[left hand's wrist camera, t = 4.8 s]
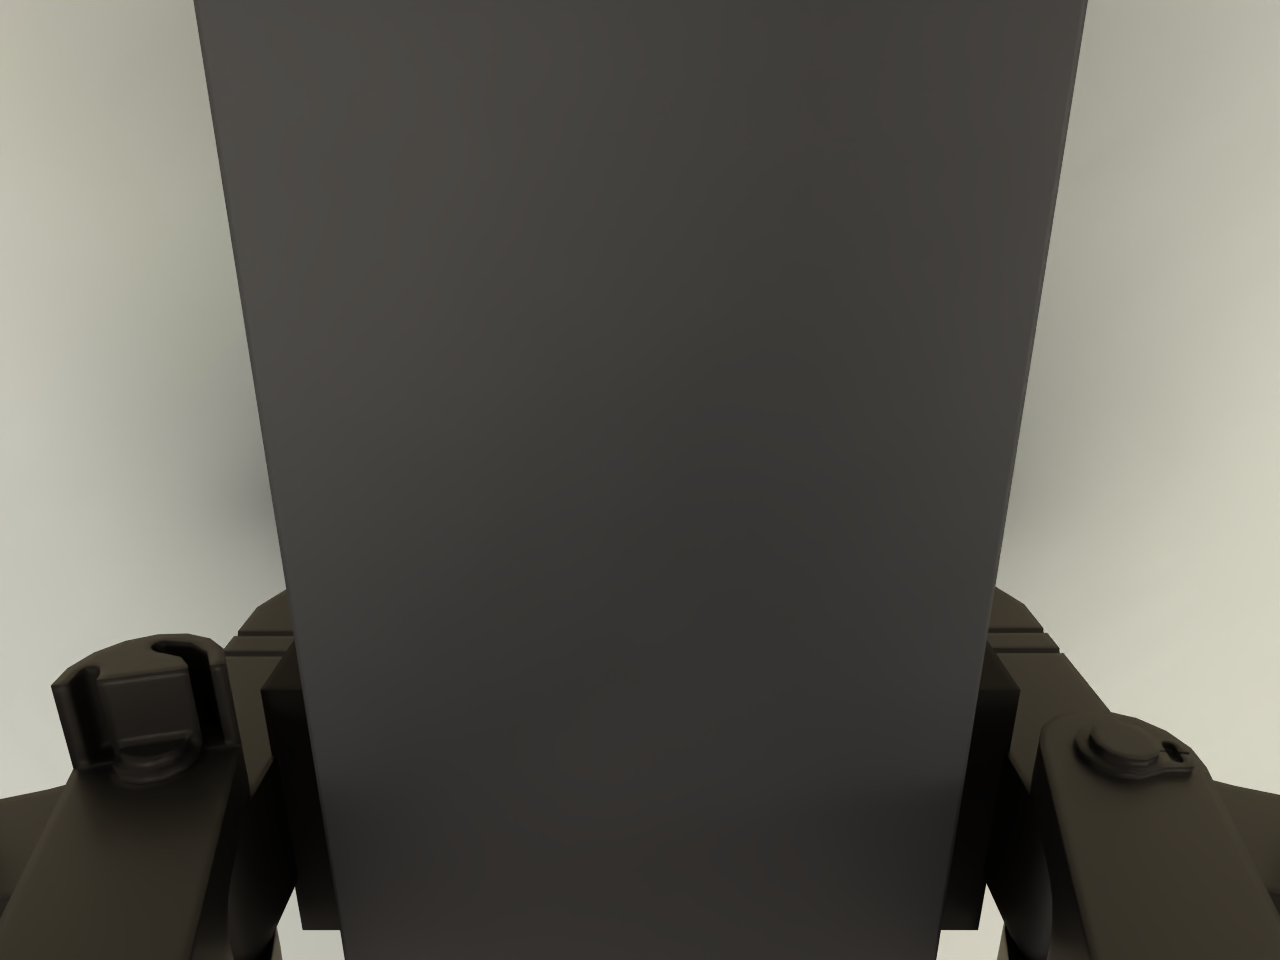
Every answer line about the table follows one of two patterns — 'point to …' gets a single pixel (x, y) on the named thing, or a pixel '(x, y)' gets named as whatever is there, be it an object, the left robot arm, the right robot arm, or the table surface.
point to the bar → (640, 447)
